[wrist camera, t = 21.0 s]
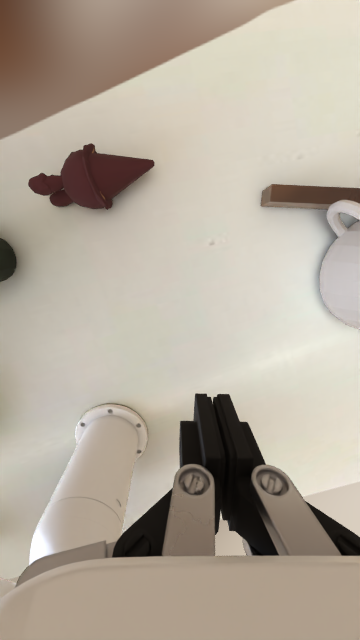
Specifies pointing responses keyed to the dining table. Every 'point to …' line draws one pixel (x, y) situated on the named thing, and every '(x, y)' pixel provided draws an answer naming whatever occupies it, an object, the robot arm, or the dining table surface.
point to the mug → (343, 266)
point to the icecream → (90, 178)
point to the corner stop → (306, 196)
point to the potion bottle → (6, 260)
